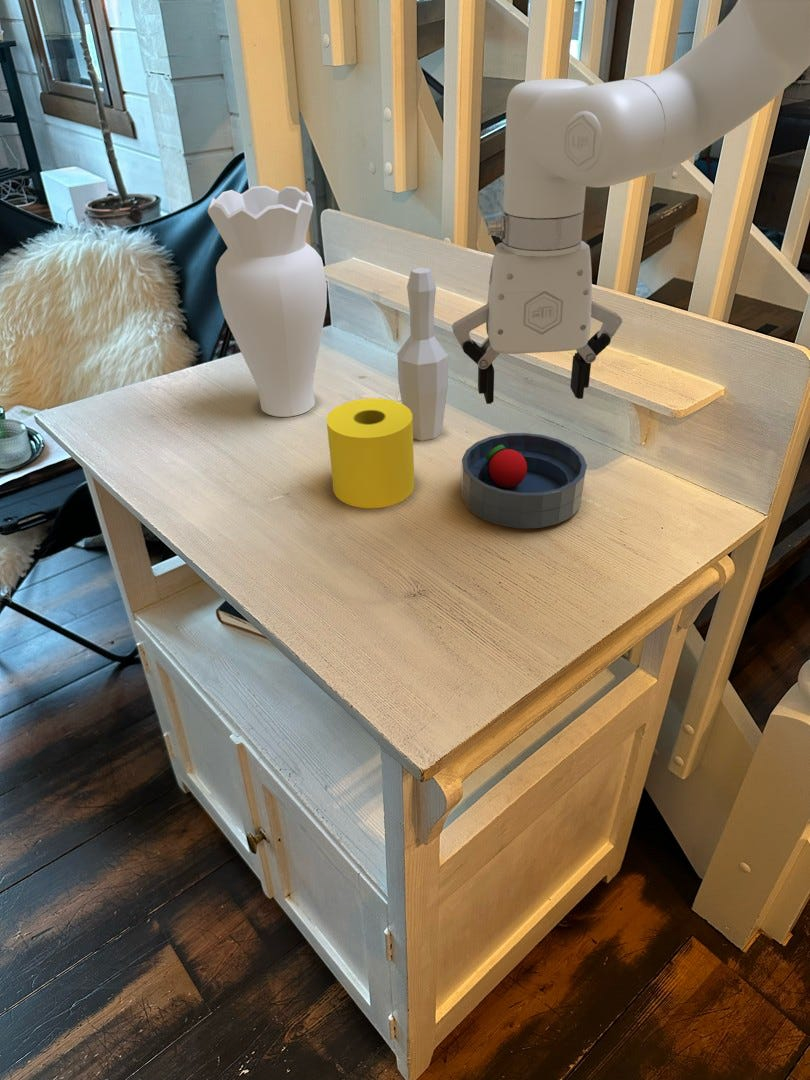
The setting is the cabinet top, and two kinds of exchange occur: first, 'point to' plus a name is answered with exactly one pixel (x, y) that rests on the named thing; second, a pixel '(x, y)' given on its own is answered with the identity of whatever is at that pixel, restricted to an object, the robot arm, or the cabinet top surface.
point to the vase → (272, 291)
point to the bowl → (525, 482)
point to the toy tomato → (506, 466)
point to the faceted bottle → (423, 360)
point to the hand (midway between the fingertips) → (532, 396)
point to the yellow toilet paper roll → (371, 452)
